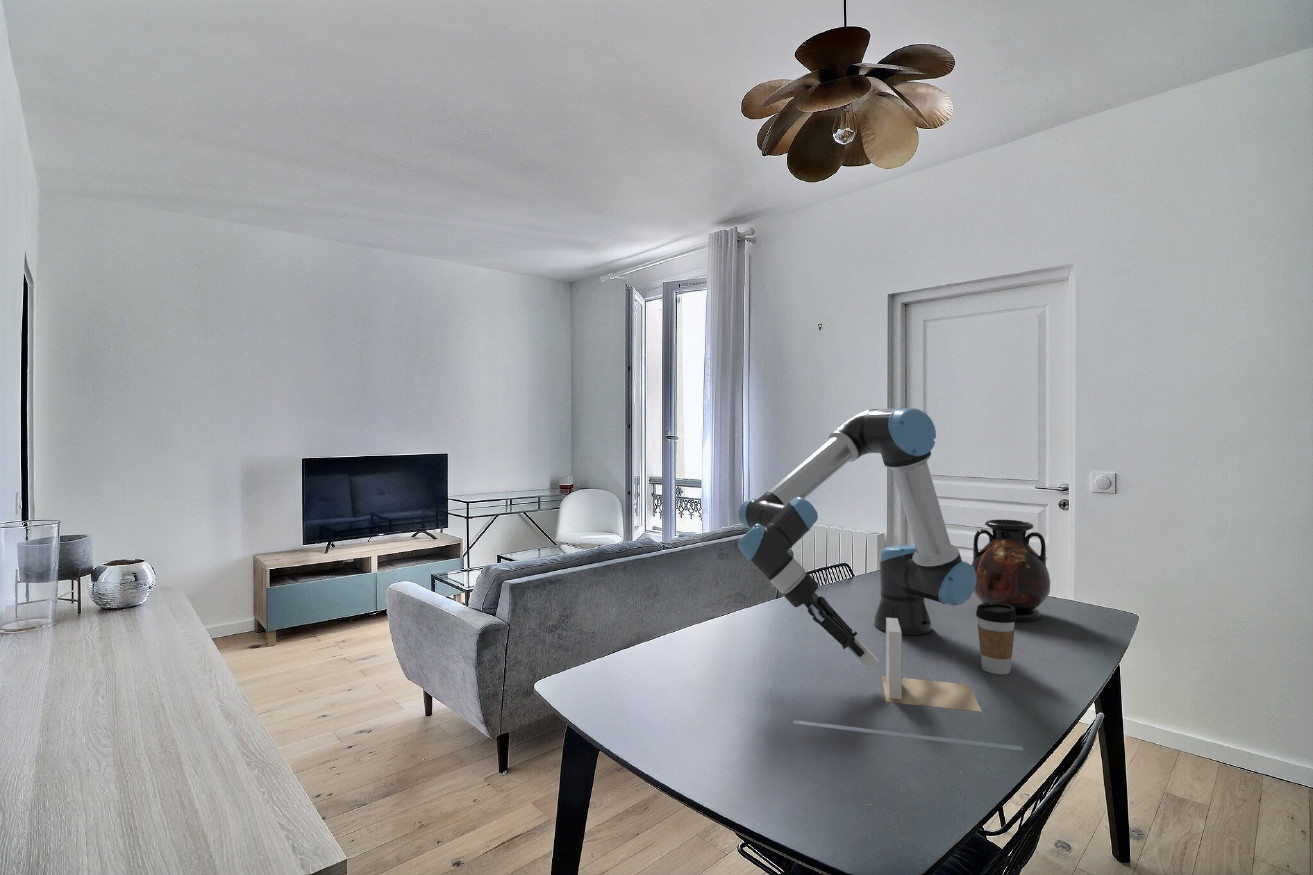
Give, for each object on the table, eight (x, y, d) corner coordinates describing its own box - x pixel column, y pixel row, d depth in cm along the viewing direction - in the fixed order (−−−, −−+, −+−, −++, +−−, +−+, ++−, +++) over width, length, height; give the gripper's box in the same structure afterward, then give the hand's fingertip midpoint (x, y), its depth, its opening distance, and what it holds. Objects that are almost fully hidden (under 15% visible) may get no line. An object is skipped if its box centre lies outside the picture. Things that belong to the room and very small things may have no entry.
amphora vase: (1045, 609, 200) (1045, 519, 199) (1055, 629, 180) (1055, 529, 180) (968, 601, 209) (968, 515, 208) (969, 620, 189) (969, 525, 189)
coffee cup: (1021, 677, 146) (1022, 612, 146) (981, 675, 148) (981, 610, 148) (1009, 664, 154) (1009, 602, 154) (971, 662, 156) (971, 600, 156)
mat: (885, 704, 133) (885, 701, 133) (881, 678, 146) (881, 676, 146) (981, 714, 128) (981, 711, 128) (968, 686, 141) (968, 684, 141)
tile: (889, 698, 135) (889, 631, 134) (886, 679, 144) (886, 617, 144) (902, 699, 134) (902, 632, 134) (898, 680, 144) (898, 618, 143)
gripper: (785, 587, 152) (859, 664, 147) (780, 602, 139) (861, 687, 135) (808, 566, 150) (884, 643, 146) (805, 579, 137) (888, 664, 133)
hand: (873, 664), depth 140 cm, fingers closed
